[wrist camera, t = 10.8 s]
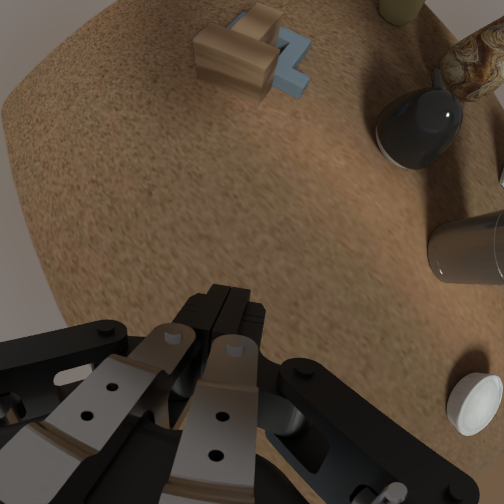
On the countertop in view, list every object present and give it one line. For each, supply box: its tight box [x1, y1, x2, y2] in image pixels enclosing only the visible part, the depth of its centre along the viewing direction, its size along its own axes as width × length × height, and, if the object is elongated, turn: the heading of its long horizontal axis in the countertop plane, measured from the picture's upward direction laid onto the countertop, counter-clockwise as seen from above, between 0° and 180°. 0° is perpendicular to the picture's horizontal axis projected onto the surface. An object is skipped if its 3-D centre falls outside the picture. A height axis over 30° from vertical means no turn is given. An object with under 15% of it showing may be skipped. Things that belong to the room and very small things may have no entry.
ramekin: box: [447, 373, 503, 436], centre depth 38 cm, size 11×11×5 cm
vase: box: [436, 16, 504, 107], centre depth 28 cm, size 10×11×30 cm
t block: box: [192, 2, 284, 106], centre depth 36 cm, size 11×10×9 cm
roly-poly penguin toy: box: [376, 68, 463, 170], centre depth 34 cm, size 10×10×15 cm
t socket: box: [192, 12, 312, 100], centre depth 39 cm, size 10×18×3 cm, turn 60°
